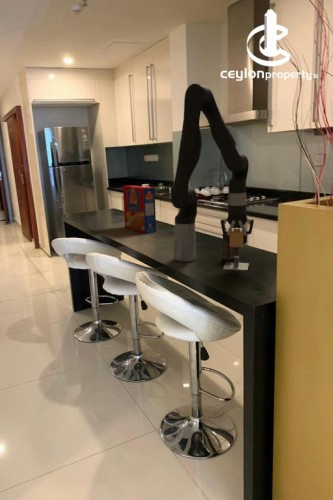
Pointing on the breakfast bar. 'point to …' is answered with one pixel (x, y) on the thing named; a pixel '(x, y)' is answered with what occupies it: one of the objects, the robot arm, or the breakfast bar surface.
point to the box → (228, 249)
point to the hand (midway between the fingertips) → (237, 243)
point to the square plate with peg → (236, 265)
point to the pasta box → (139, 208)
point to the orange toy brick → (236, 238)
